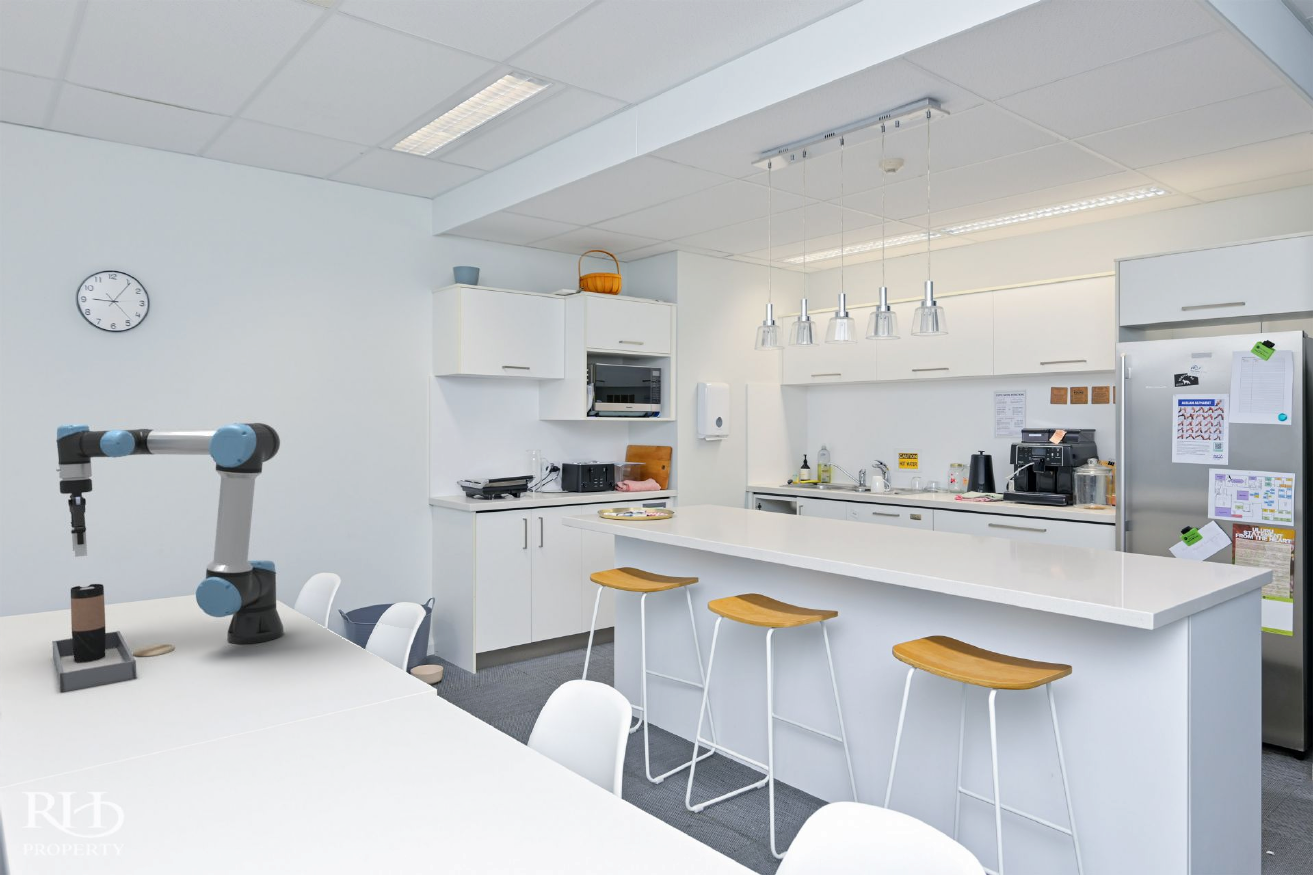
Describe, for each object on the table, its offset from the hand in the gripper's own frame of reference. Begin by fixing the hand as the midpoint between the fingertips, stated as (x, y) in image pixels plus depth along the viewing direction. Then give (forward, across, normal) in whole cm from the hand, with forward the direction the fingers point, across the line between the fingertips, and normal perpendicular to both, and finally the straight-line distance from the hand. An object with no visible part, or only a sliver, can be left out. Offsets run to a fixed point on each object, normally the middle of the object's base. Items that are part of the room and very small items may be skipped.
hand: (79, 553), depth 231 cm
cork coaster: (+28, +15, +15) cm, 35 cm away
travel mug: (+28, +11, 0) cm, 30 cm away
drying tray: (+28, +21, +1) cm, 35 cm away
